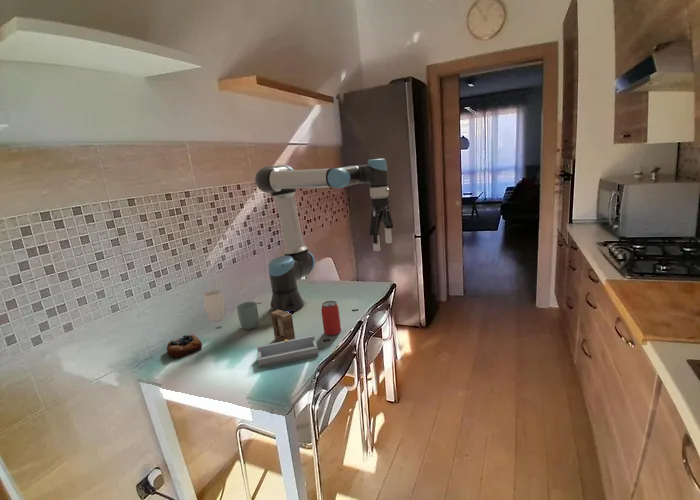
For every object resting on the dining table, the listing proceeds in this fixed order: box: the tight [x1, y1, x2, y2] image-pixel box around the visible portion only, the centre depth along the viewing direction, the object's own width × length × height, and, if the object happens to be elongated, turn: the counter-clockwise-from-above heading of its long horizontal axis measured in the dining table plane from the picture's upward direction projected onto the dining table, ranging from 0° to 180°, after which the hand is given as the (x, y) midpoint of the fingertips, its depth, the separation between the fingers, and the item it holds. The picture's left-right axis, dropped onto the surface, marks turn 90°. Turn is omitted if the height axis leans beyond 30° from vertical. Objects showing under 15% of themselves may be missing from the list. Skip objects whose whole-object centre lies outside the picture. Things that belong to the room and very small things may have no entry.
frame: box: [270, 310, 296, 342], centre depth 140 cm, size 8×4×11 cm, turn 49°
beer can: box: [321, 300, 342, 337], centre depth 142 cm, size 7×7×12 cm
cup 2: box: [236, 301, 260, 330], centre depth 154 cm, size 8×8×10 cm
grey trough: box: [256, 334, 320, 369], centre depth 128 cm, size 20×7×5 cm, turn 104°
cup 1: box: [203, 289, 226, 323], centre depth 142 cm, size 7×7×21 cm
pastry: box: [166, 334, 203, 361], centre depth 140 cm, size 11×12×6 cm
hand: (383, 246), depth 159 cm, fingers open, 13 cm apart
